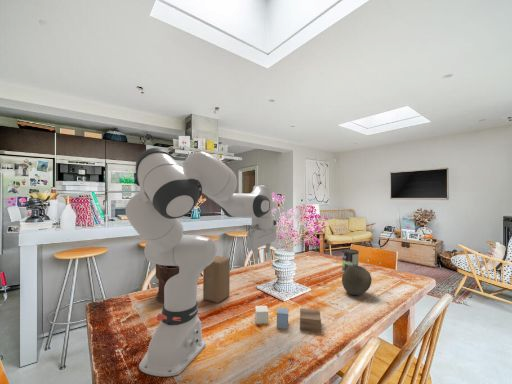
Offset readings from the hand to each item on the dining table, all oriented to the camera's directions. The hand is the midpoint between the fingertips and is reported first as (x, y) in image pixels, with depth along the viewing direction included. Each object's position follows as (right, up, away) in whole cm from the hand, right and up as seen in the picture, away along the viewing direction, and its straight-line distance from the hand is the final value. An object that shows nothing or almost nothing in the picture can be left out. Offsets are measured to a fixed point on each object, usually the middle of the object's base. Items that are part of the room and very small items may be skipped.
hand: (261, 255), depth 103 cm
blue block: (+8, -27, -5) cm, 29 cm away
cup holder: (-45, -27, +19) cm, 56 cm away
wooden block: (-23, -27, +20) cm, 40 cm away
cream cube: (0, -27, -1) cm, 27 cm away
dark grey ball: (+51, -28, +25) cm, 63 cm away
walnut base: (+20, -28, -5) cm, 34 cm away
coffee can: (+62, -27, +61) cm, 90 cm away
